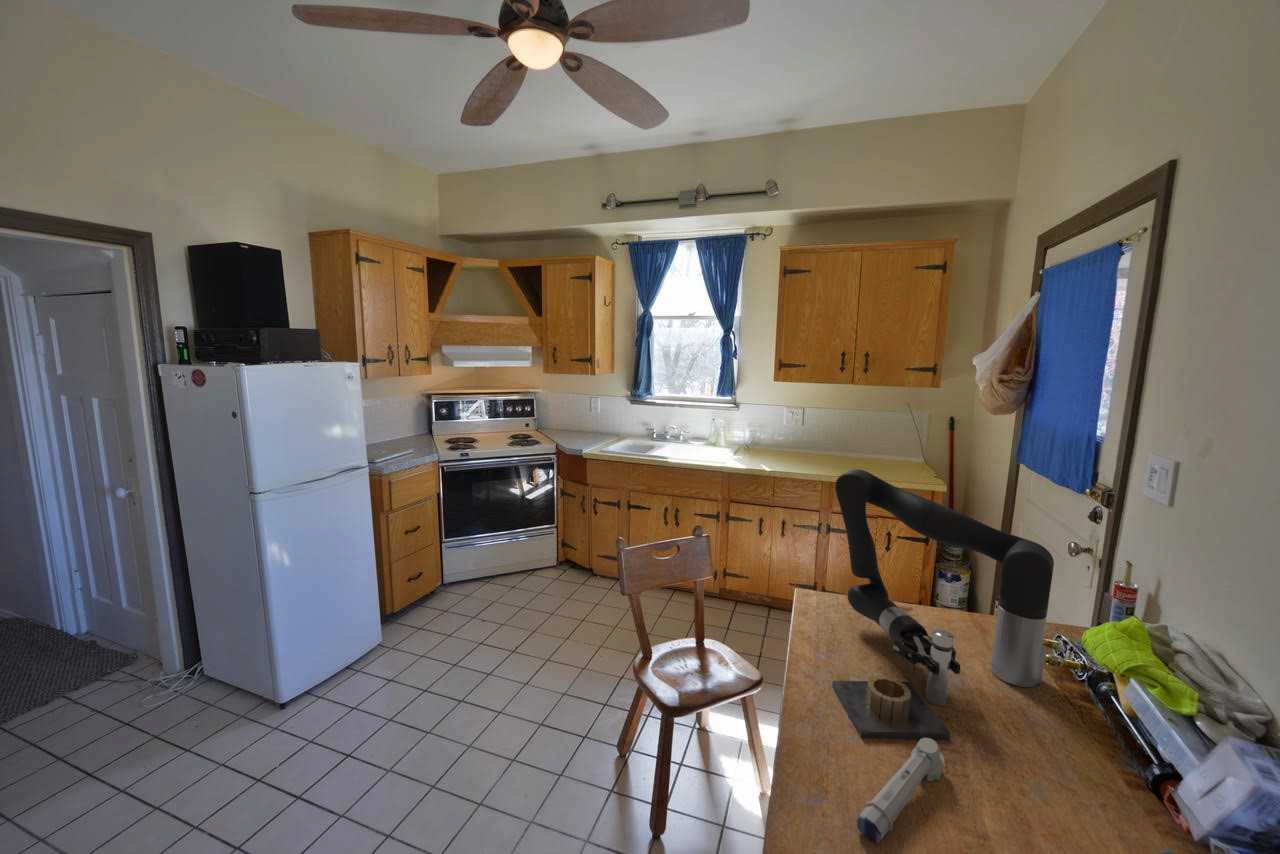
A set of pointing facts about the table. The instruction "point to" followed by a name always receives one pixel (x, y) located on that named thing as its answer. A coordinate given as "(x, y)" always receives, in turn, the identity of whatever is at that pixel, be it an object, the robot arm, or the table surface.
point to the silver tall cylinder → (942, 657)
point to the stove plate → (886, 725)
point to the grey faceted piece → (900, 790)
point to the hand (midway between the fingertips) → (948, 670)
